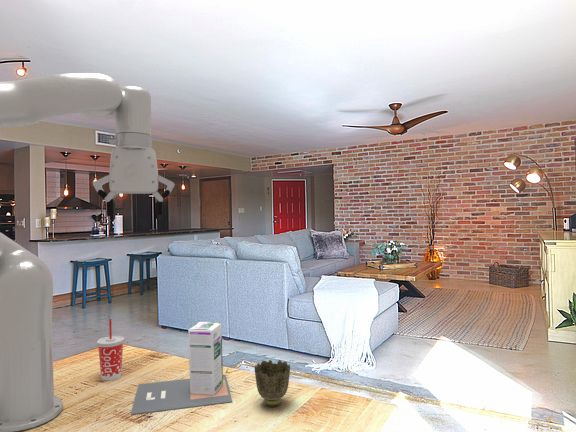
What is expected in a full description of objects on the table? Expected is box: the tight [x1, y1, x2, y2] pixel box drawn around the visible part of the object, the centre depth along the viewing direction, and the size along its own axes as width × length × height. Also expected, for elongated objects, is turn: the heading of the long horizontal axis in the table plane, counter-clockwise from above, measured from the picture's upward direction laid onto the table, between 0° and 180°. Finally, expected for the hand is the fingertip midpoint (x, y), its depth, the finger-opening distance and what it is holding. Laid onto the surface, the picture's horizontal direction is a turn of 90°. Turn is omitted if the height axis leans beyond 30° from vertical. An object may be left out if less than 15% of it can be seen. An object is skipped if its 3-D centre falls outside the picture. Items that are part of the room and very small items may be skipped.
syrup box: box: [187, 321, 224, 396], centre depth 91 cm, size 6×6×14 cm
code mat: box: [130, 374, 233, 416], centre depth 90 cm, size 20×14×1 cm
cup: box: [253, 359, 291, 408], centre depth 85 cm, size 8×7×8 cm
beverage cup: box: [96, 318, 125, 381], centre depth 99 cm, size 6×6×14 cm
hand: (135, 219), depth 92 cm, fingers open, 9 cm apart
